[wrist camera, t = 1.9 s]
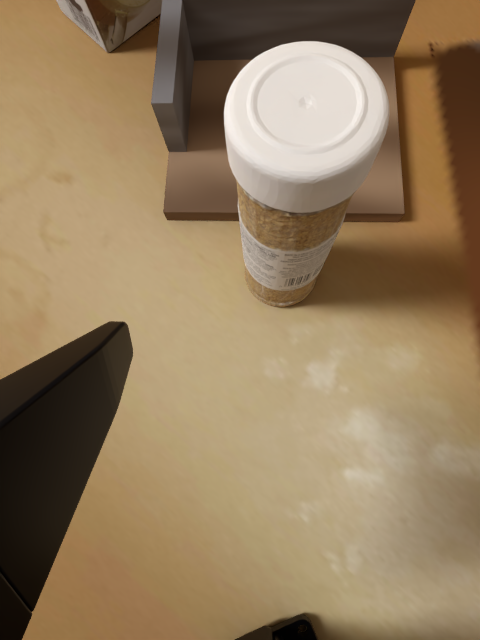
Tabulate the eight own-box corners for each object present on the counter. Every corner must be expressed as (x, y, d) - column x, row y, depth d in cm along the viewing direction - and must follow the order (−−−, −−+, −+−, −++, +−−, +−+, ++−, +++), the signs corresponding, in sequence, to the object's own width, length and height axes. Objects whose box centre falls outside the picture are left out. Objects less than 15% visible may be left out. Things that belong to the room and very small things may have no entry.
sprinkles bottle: (304, 233, 23) (363, 14, 10) (325, 299, 22) (420, 151, 9) (235, 250, 23) (205, 54, 10) (253, 317, 22) (244, 194, 9)
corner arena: (398, 221, 23) (435, 173, 18) (167, 219, 24) (143, 173, 19) (387, 56, 26) (417, -24, 21) (181, 60, 27) (164, -16, 22)
